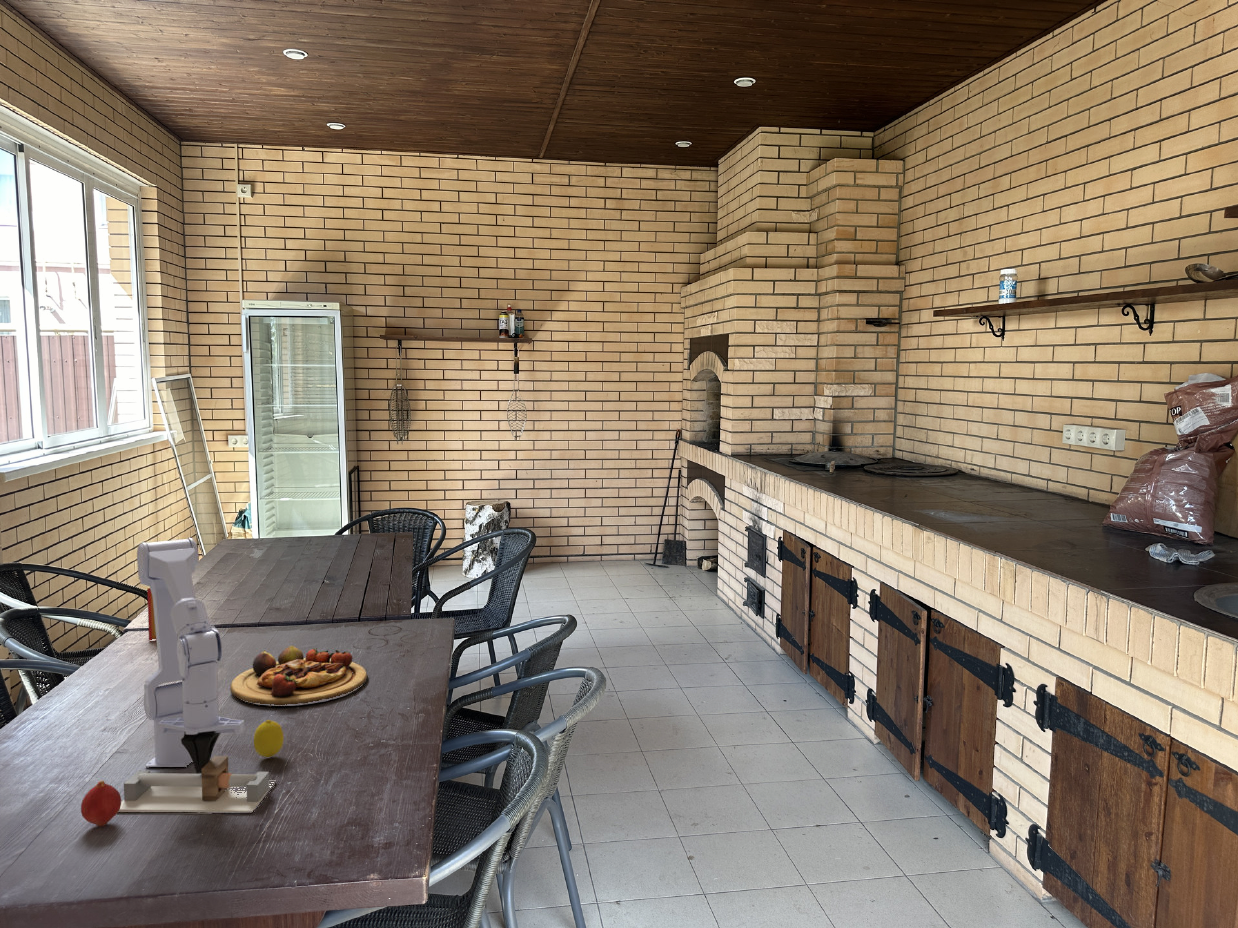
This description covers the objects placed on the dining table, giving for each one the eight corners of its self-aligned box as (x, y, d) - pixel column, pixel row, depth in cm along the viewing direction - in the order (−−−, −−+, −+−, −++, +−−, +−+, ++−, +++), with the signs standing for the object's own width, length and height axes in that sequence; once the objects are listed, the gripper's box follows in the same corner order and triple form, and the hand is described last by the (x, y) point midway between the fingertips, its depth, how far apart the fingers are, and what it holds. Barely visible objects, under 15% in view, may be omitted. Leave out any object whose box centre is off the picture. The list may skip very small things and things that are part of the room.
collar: (202, 800, 147) (201, 768, 147) (215, 786, 152) (214, 755, 152) (215, 800, 147) (215, 768, 147) (228, 786, 152) (228, 755, 152)
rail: (113, 812, 144) (112, 787, 143) (147, 782, 155) (146, 758, 154) (252, 813, 145) (251, 788, 144) (276, 783, 156) (276, 760, 155)
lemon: (287, 752, 169) (287, 714, 168) (277, 764, 163) (277, 725, 162) (260, 751, 169) (259, 714, 168) (249, 764, 163) (248, 725, 162)
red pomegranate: (76, 826, 139) (74, 781, 138) (113, 812, 144) (111, 768, 143) (89, 838, 136) (87, 792, 135) (127, 824, 140) (126, 779, 139)
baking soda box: (174, 639, 239) (173, 585, 237) (149, 641, 236) (147, 587, 234) (177, 630, 247) (175, 578, 246) (152, 632, 245) (150, 579, 243)
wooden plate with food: (322, 716, 188) (322, 681, 187) (200, 700, 194) (200, 666, 193) (389, 672, 219) (390, 642, 218) (282, 660, 225) (282, 630, 225)
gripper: (147, 706, 144) (149, 780, 145) (231, 707, 144) (233, 781, 145) (168, 691, 151) (170, 762, 152) (248, 692, 151) (249, 763, 152)
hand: (202, 770), depth 149 cm, fingers closed
